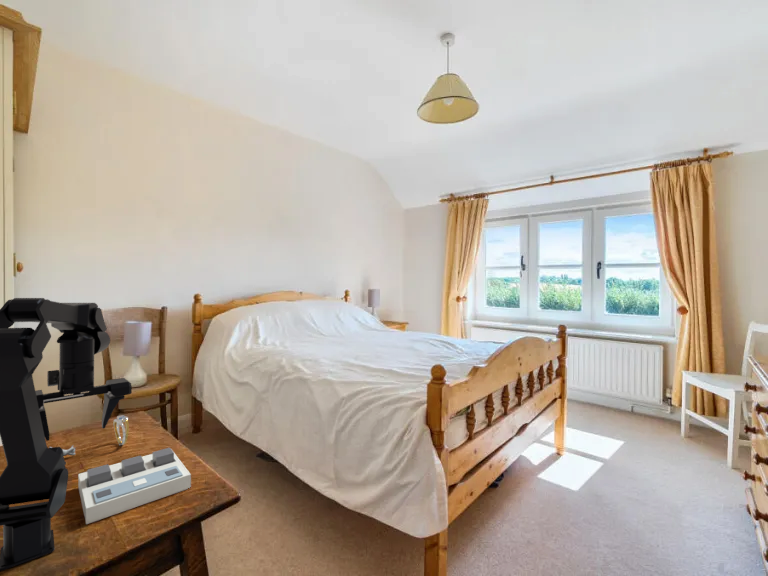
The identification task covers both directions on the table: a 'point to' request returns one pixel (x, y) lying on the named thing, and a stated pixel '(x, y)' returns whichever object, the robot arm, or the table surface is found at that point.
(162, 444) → the table surface
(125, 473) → the button middle
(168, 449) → the button right
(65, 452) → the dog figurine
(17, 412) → the robot arm
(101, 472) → the button left
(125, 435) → the ring
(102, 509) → the button board
